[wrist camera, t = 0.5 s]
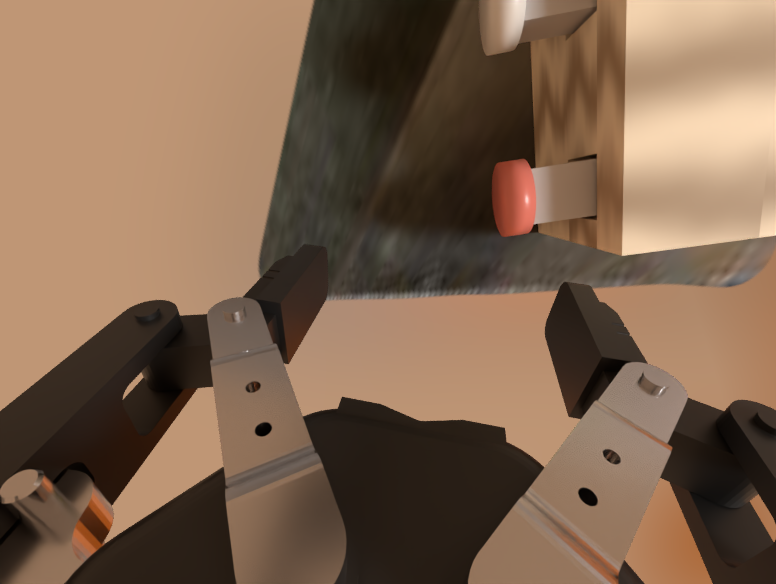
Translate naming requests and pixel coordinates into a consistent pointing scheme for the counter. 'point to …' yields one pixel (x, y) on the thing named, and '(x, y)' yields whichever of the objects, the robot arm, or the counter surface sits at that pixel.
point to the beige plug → (529, 21)
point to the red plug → (542, 194)
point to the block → (663, 121)
